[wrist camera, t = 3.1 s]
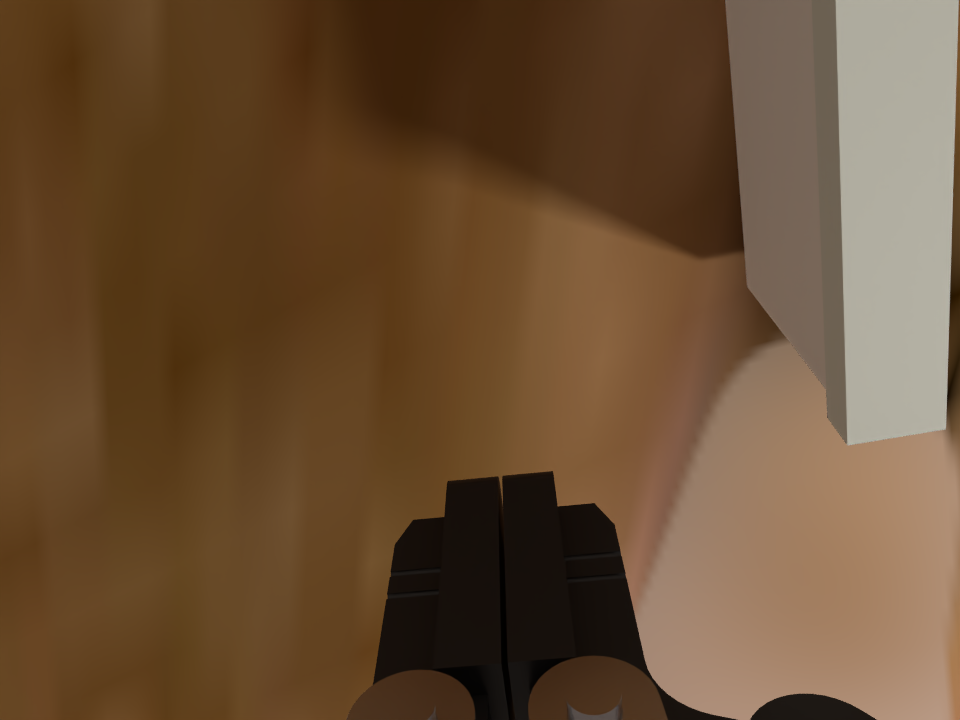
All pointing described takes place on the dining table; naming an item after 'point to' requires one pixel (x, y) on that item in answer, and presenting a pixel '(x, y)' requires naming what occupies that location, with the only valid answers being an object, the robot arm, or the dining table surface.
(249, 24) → the dining table surface
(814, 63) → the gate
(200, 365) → the dining table surface
